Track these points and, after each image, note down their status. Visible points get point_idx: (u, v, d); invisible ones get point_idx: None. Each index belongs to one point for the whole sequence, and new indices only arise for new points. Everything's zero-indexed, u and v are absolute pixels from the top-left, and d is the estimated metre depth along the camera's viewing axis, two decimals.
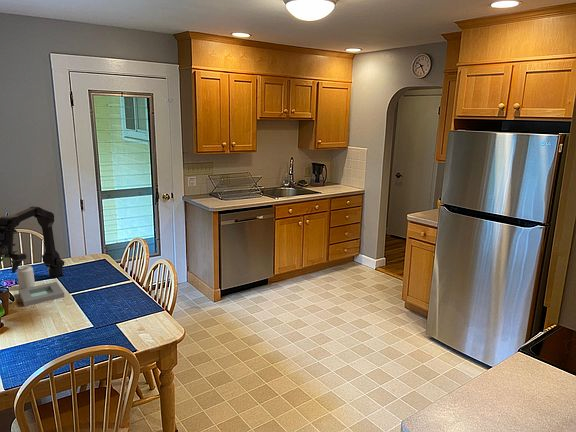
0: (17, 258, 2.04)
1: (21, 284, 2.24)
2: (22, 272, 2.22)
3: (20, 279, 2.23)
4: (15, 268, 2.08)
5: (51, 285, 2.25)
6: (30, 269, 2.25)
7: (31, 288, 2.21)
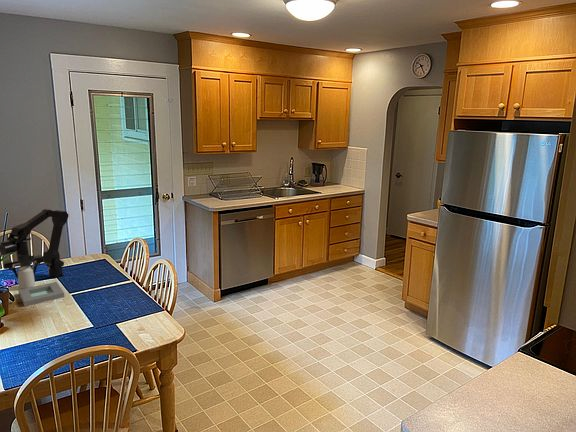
0: (43, 260, 2.28)
1: (21, 284, 2.24)
2: (22, 271, 2.22)
3: (20, 279, 2.23)
4: None
5: (51, 285, 2.25)
6: (30, 269, 2.25)
7: (31, 288, 2.21)
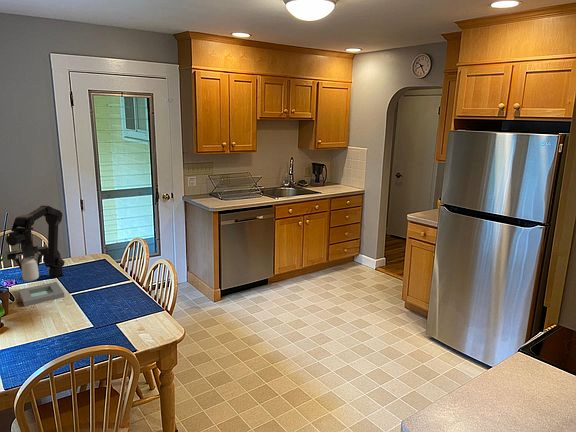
0: (47, 251, 2.22)
1: (25, 276, 2.18)
2: (25, 263, 2.16)
3: (24, 271, 2.17)
4: None
5: (51, 285, 2.25)
6: (34, 261, 2.19)
7: (31, 288, 2.21)
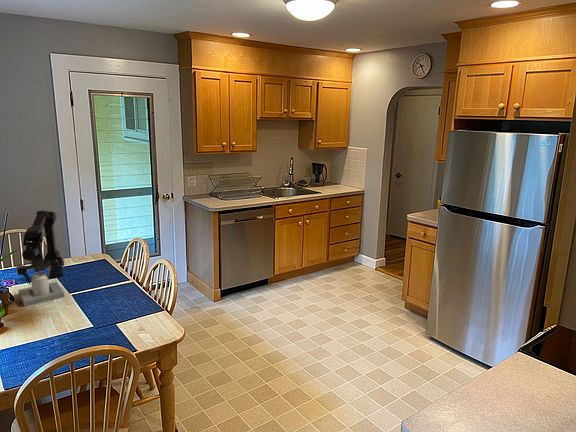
0: (58, 265, 2.18)
1: (35, 292, 2.14)
2: (36, 279, 2.12)
3: (34, 287, 2.13)
4: None
5: (51, 285, 2.25)
6: (45, 276, 2.15)
7: (31, 288, 2.21)
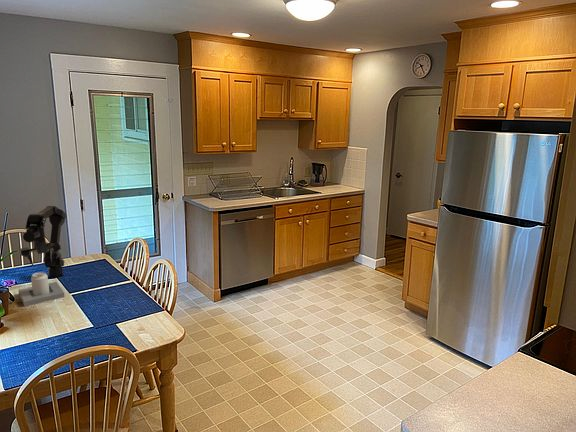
0: (59, 248, 2.29)
1: (35, 292, 2.14)
2: (36, 279, 2.12)
3: (34, 287, 2.13)
4: None
5: (51, 285, 2.25)
6: (45, 276, 2.15)
7: (31, 288, 2.21)
